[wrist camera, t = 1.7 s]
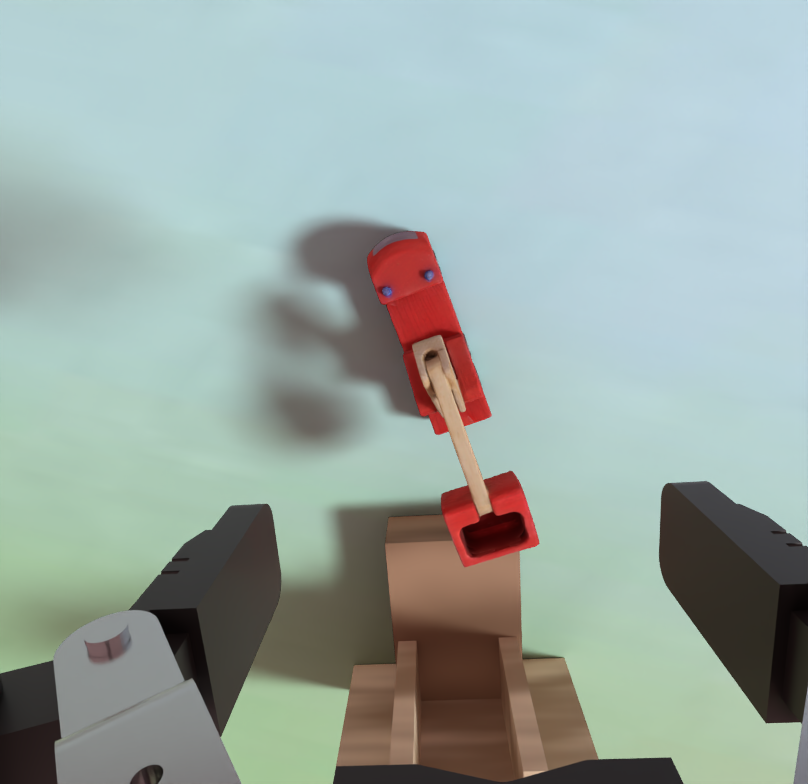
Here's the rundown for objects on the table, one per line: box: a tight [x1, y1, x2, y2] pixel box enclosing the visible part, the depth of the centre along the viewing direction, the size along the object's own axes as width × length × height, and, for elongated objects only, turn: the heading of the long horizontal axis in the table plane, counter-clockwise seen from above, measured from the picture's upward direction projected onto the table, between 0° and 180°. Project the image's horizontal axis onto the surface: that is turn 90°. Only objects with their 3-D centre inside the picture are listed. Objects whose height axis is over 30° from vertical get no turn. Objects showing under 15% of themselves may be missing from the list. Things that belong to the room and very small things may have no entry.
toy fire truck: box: [367, 231, 539, 567], centre depth 25 cm, size 3×14×10 cm, turn 21°
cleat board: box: [333, 515, 598, 782], centre depth 23 cm, size 12×13×20 cm
